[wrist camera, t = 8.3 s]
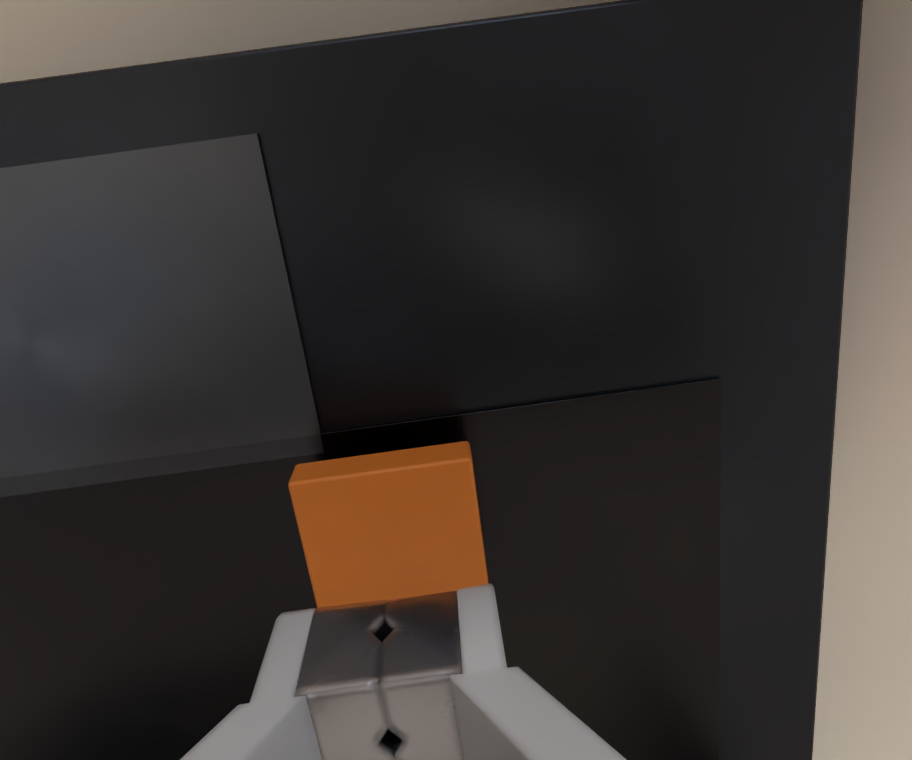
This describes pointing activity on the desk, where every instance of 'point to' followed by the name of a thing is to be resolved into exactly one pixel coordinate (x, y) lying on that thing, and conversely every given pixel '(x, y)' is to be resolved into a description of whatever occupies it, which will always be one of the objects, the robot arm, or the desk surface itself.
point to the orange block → (390, 524)
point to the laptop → (432, 357)
